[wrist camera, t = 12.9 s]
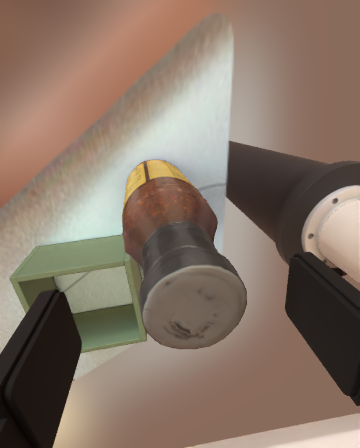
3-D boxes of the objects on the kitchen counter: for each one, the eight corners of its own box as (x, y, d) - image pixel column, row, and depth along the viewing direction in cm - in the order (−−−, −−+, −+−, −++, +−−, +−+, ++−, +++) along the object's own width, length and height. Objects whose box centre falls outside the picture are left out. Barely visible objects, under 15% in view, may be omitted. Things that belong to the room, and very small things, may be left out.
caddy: (132, 233, 29) (129, 259, 23) (146, 305, 33) (146, 341, 28) (35, 246, 28) (8, 278, 22) (63, 319, 32) (47, 359, 27)
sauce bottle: (140, 219, 28) (133, 398, 10) (117, 168, 25) (53, 286, 7) (192, 200, 28) (281, 345, 10) (175, 147, 25) (254, 214, 7)
